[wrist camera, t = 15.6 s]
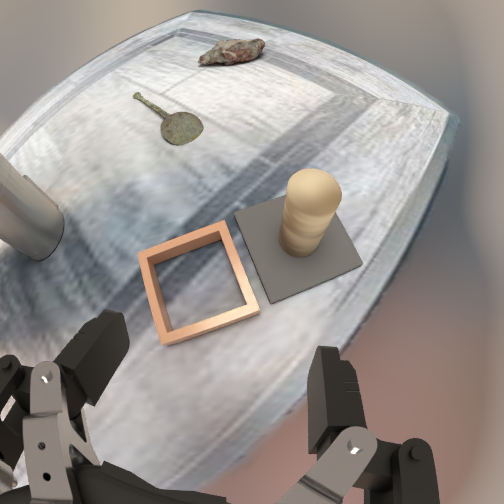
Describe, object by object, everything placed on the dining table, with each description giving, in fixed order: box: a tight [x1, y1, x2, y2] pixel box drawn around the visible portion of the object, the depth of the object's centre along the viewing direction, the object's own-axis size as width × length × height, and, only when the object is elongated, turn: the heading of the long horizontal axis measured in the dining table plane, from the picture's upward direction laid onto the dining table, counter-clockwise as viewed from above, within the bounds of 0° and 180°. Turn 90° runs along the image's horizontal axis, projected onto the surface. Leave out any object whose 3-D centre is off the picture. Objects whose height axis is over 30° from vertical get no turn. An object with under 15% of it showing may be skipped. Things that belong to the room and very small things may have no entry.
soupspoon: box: [133, 92, 203, 145], centre depth 42 cm, size 22×3×7 cm
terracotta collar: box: [138, 220, 260, 345], centre depth 30 cm, size 11×11×2 cm
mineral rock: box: [198, 39, 265, 65], centre depth 48 cm, size 15×8×4 cm, turn 92°
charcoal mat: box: [234, 195, 363, 304], centre depth 32 cm, size 12×12×1 cm
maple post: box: [279, 169, 342, 257], centre depth 27 cm, size 5×5×10 cm
